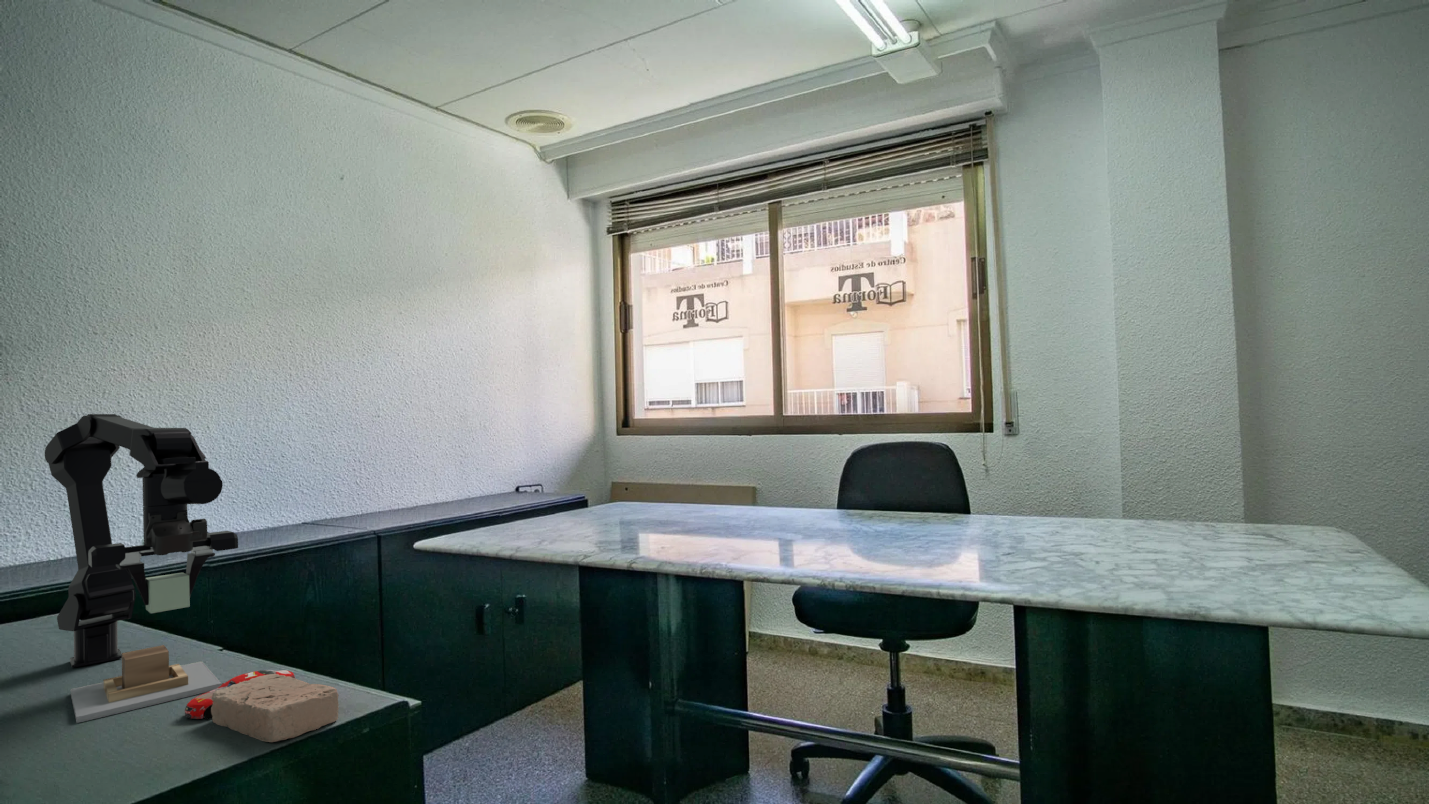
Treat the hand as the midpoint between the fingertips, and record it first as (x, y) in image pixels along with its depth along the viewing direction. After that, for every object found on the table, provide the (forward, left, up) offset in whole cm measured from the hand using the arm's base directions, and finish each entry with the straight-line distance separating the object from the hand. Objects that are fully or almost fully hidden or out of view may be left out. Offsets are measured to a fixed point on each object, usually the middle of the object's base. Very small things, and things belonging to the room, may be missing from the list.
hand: (167, 601), depth 114 cm
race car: (+27, +5, -12) cm, 30 cm away
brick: (+38, +6, -12) cm, 40 cm away
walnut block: (+9, -4, -11) cm, 14 cm away
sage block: (0, 0, -1) cm, 1 cm away
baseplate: (+9, -4, -11) cm, 15 cm away
